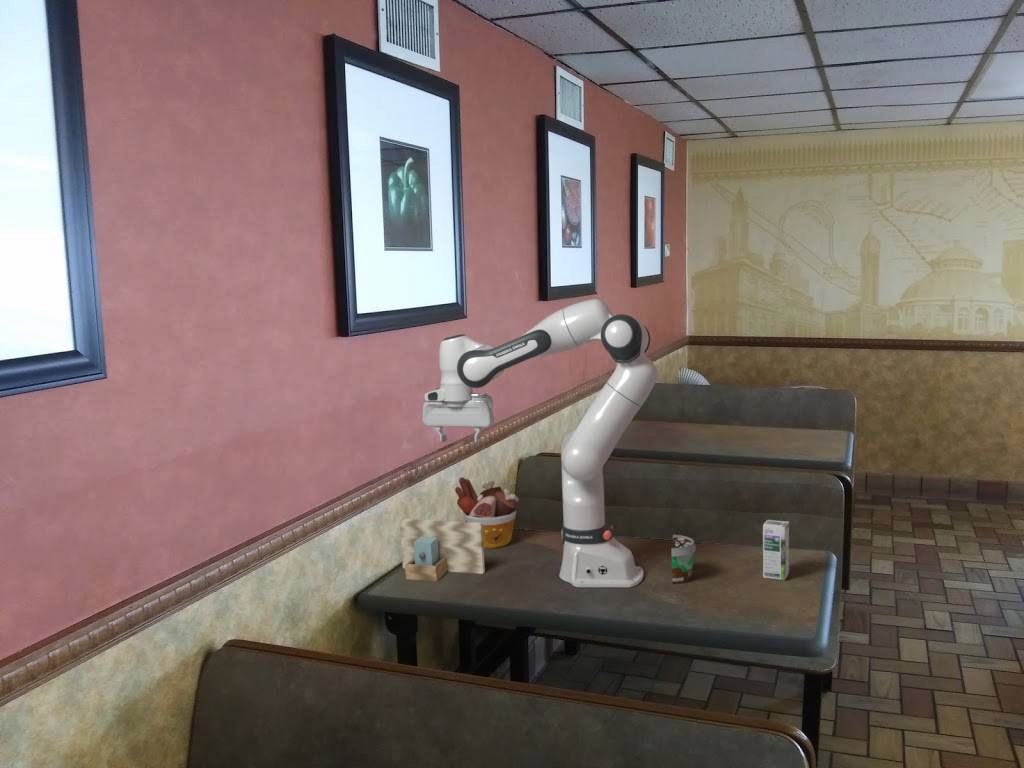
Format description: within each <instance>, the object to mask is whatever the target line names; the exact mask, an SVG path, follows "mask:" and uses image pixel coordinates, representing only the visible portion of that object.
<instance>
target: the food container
mask: <svg viewBox="0 0 1024 768" xmlns="http://www.w3.org/2000/svg"><path fill="white" fill-rule="evenodd" d="M696 551H697V547H696V543H695V541H694V539H693V538H691V537H688V536H685V535H679V534H672V547H671V576H672V577H671V581H672V583H671V585H679V584H680V585H681V584H685V583H689V582H691V581H692V580H693V568H694V553H695V552H696Z"/></svg>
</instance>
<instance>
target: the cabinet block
mask: <svg viewBox="0 0 1024 768" xmlns="http://www.w3.org/2000/svg"><path fill="white" fill-rule="evenodd" d="M414 554H415V565H430V566H434V565H435V564H436V563H437V562H439V551H438V538H436V537H420V538H419V539H417V540H416V541H415V542H414Z"/></svg>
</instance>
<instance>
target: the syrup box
mask: <svg viewBox="0 0 1024 768" xmlns="http://www.w3.org/2000/svg"><path fill="white" fill-rule="evenodd" d="M762 557H763V558H762V561H763V563H762V567H763V568H762V576H763V577H762V578H764V579H769V580H770V579H771V580H779V581H785V580H786V579H787V577H788V575H789V573H790V521H788V520H787V521H784V520H774V519H773V520H772V519H767V520H766V521H765V522H764V523H763V526H762Z"/></svg>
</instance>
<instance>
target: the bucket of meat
mask: <svg viewBox="0 0 1024 768" xmlns="http://www.w3.org/2000/svg"><path fill="white" fill-rule="evenodd" d="M458 483H459V485H460V487H459V486H457V487H455V490H454V492H455V493H456V494H457V496H458V499H457V502H456V503H457V506H458V507H459V509H461V511H462V512H463V516H464V519H465V522H474V523H482V525H483V545H484V550H488V549H499V548H504V547H505V546H507V545H508V544H510V542H511V541H512V537H513V531H514V526H515V519H516V515H517V503H518V502H519V497H518V496H517V494H514V493H511V490H510V489H509V488H504V489H502V487H501V486H495V487H494V485H495V483H496V482H495V481H494V480H490V481H488V483H484V484H483V485H482V488H483V489H485V490H483V491H481V492H480V493H479V495H477V493H476V491H475V489H474V486H473V484H472V483H471V481H470V480H469V479H467V478H465V477H460V478H459V480H458Z"/></svg>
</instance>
